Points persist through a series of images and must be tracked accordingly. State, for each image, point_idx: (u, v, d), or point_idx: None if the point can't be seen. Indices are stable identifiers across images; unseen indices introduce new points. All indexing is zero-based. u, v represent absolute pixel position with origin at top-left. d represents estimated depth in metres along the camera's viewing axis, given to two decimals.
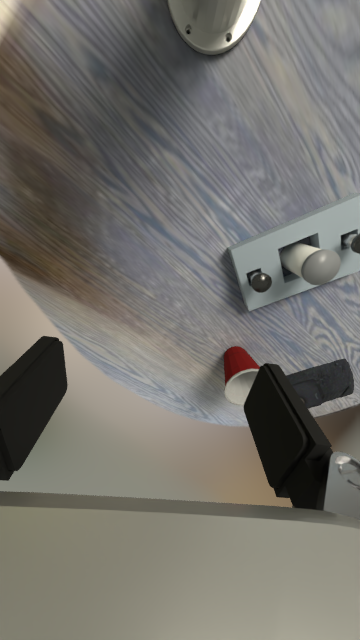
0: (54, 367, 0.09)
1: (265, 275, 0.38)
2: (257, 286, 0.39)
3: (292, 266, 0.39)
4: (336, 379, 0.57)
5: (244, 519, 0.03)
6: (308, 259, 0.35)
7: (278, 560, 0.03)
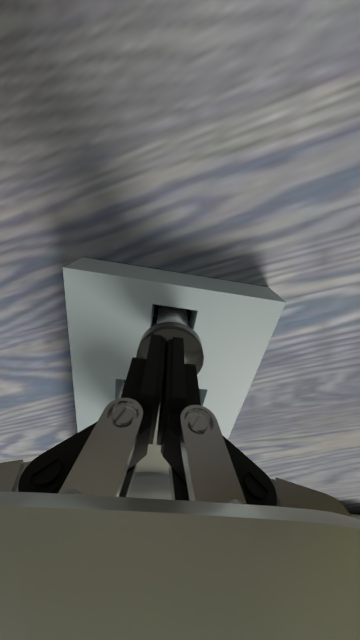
0: None
1: None
2: None
3: None
4: None
5: (244, 518, 0.03)
6: None
7: (278, 560, 0.03)
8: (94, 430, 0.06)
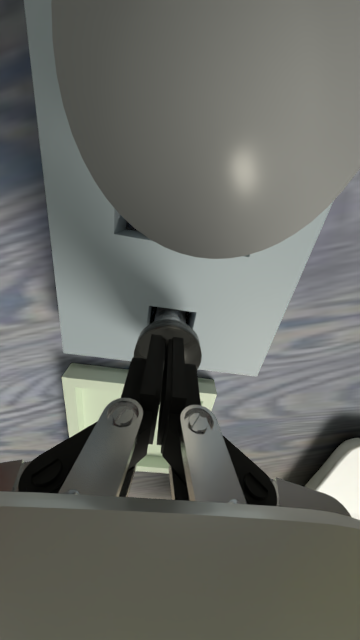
0: None
1: None
2: None
3: None
4: None
5: (244, 518, 0.03)
6: None
7: (278, 560, 0.03)
8: (94, 430, 0.06)
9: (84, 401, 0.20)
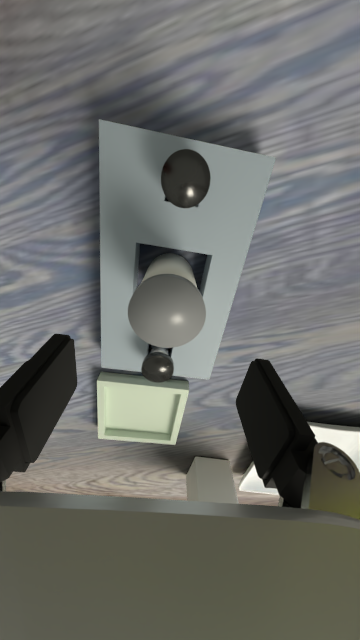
0: (66, 364, 0.09)
1: (200, 197, 0.16)
2: (185, 163, 0.15)
3: (175, 266, 0.18)
4: None
5: (244, 518, 0.03)
6: (201, 296, 0.15)
7: (278, 560, 0.03)
8: None
9: (107, 395, 0.32)
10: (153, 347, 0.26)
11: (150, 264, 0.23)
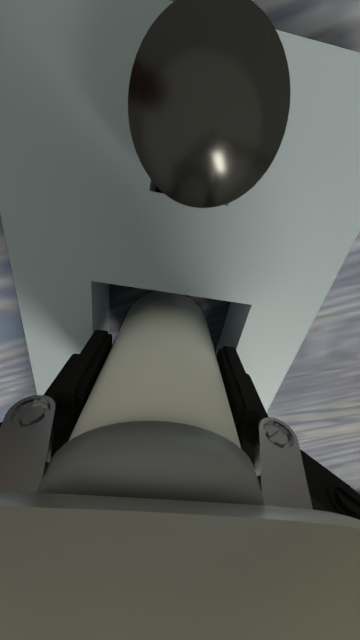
0: (106, 357, 0.10)
1: (250, 175, 0.05)
2: (210, 53, 0.04)
3: (176, 344, 0.08)
4: None
5: (244, 518, 0.03)
6: (258, 488, 0.05)
7: (278, 560, 0.03)
8: None
9: None
10: None
11: (128, 313, 0.12)
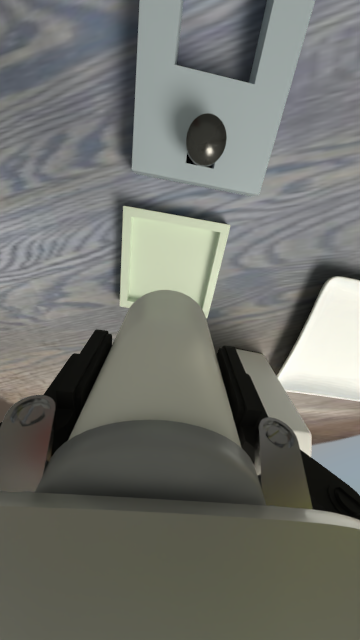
0: None
1: None
2: None
3: (176, 343, 0.08)
4: None
5: (244, 519, 0.03)
6: (259, 487, 0.05)
7: (278, 560, 0.03)
8: None
9: (133, 242, 0.28)
10: None
11: (128, 312, 0.12)
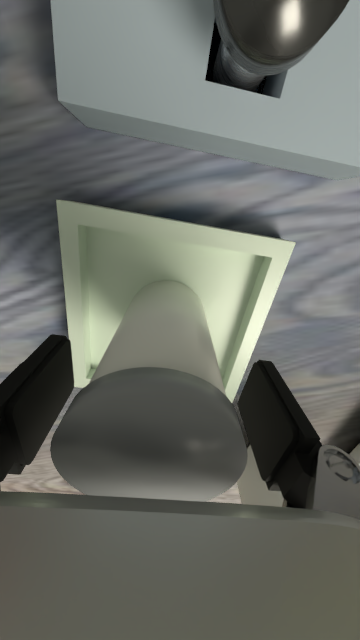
0: (62, 365, 0.09)
1: None
2: None
3: (172, 320, 0.09)
4: None
5: (244, 518, 0.03)
6: (236, 421, 0.06)
7: (278, 560, 0.03)
8: None
9: (90, 274, 0.14)
10: None
11: (132, 301, 0.13)
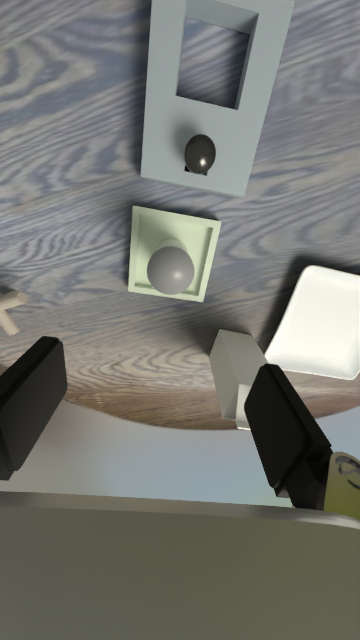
0: (54, 367, 0.09)
1: None
2: None
3: (175, 244, 0.28)
4: None
5: (244, 518, 0.03)
6: (191, 259, 0.25)
7: (278, 560, 0.03)
8: None
9: (140, 236, 0.33)
10: None
11: None
